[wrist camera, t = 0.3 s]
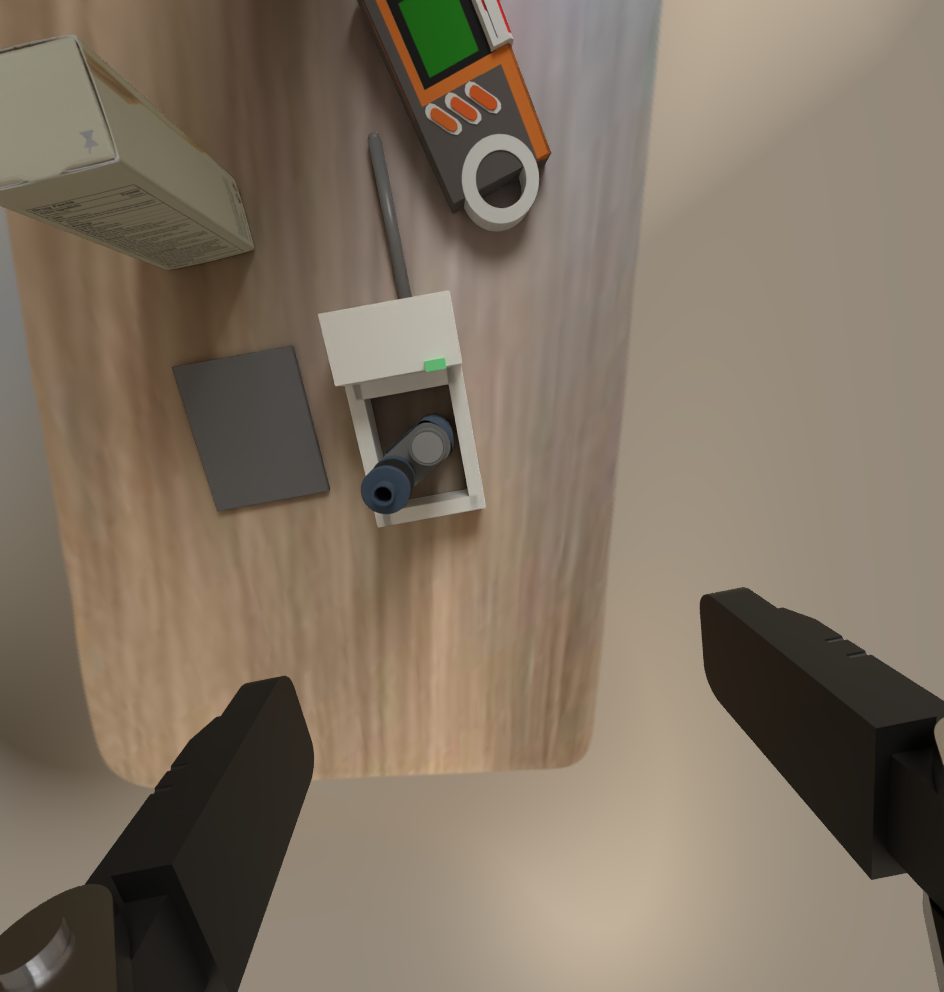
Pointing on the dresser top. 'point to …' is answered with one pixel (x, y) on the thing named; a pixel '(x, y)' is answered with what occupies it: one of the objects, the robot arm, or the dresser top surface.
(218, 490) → the mat
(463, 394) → the dock
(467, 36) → the electronic device
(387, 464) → the vaping device
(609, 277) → the dresser top surface
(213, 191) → the skincare box
